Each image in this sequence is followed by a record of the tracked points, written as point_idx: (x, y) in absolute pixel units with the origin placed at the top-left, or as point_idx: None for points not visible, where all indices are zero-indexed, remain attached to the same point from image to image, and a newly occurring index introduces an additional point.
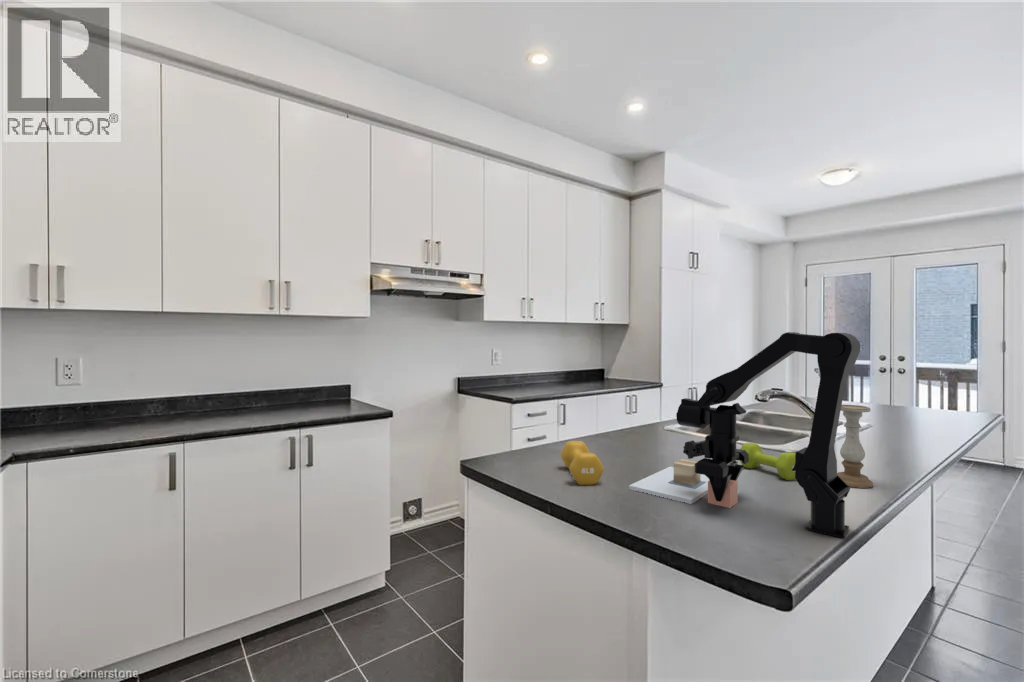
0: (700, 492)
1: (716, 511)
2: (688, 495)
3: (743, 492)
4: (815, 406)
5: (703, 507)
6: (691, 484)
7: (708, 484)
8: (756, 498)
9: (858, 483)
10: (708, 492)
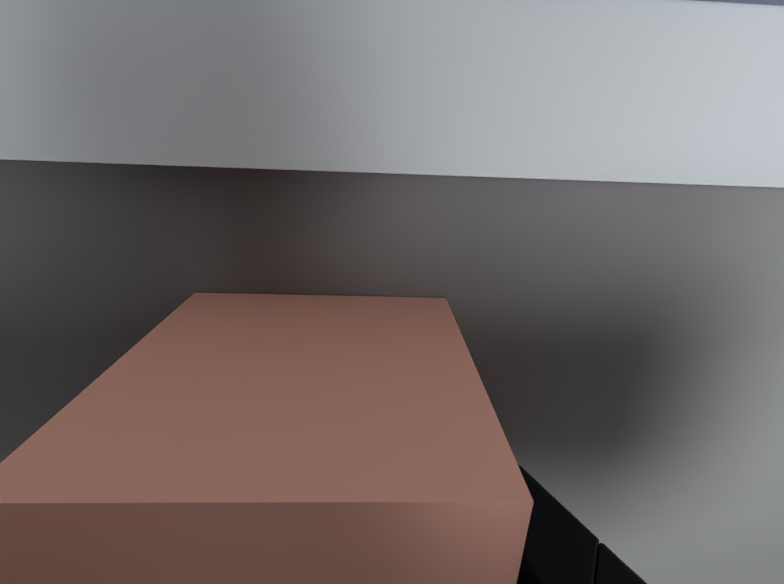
0: (353, 141)
1: (25, 432)
2: (58, 30)
3: (778, 444)
4: None
5: (11, 305)
6: None
7: (26, 457)
8: (638, 553)
9: None
10: (128, 362)
